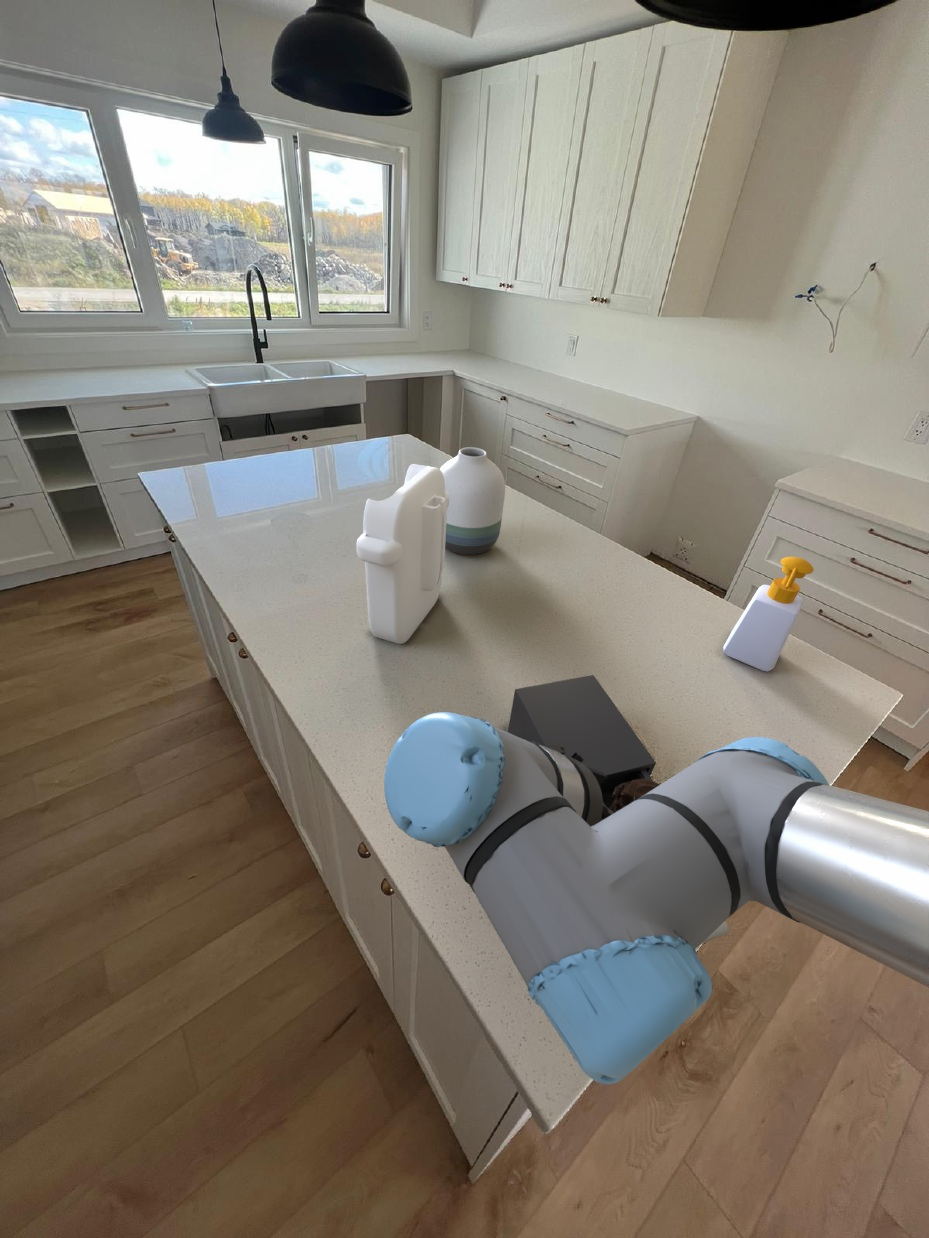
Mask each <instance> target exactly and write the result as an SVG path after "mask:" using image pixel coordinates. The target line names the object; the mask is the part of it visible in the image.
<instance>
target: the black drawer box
mask: <svg viewBox="0 0 929 1238" xmlns="http://www.w3.org/2000/svg"><path fill="white" fill-rule="evenodd" d="M512 699H513V700H512V705H511V710H510V716H509V721H508V727H507V732H508V733H510V734H512V735H515V736H517V737H519V738H522V739H525V740H526V741H529V742H532V741H534V742H537V743H538V744H541V745H555V744H558V745H561V746H562V747H563V748H564V750H565V751H566V753H565V754H564V755H566V756H568V757H571V756H572V755H573V754H574V753H575V752H577V753H578V754H580V755H581V756H582V757H583V759H584V760H583V761H582V764H584V765H585V766H587V767H590V768H592V769H595V770H597V771H600V772H602V773H604V774H605V775H606V776H607V778H610V777H614V776H618V775H622V774H626V773H630V772H634V771H638V770H642V769H646V771H647V772H648V774H649V775H650V777H651V776H652V774H653V772H654V770H655V767H656V765H657V762H656V760H655V759H654V758H653V756H652V755H651V753H650V752H649V750H648V749H647V748H646V746H645V745H644V743H643V741H641V739H640V737H639V736H638V735H637V734H636V732H635V731H634V729H633V728H632V727H631V725H630V724H629V723H628V721H627V719H626V718H625V717H624V715H623V714H622V712H621V710H619V708H618V707H617V706H616V704H615V703H614V701H613V700H612V699H611V697H610V696H609V694H608V693H607V691H606V690H605V689H604V687H603V686H602V684H601V683H600V682H599V680H598V679H597V678H596V676H595V675H594V674H589V675H583V676H580V677H574V678H567V679H563V680H556V681H552V682H547V683H541V684H537V685H530V686H526V687H520V688H515V689H514V694H513V698H512Z"/></svg>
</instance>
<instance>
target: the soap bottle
mask: <svg viewBox="0 0 929 1238" xmlns="http://www.w3.org/2000/svg"><path fill="white" fill-rule="evenodd" d="M780 564H781V565H782V568H781V572H783V574H785V576H784V577H775V578H774V579H773V580H772V582H771V584H762V585H761V586H759V587H758V589H757V590H756V591H755V593H754V595H753V597H752V598H751V600H750V601H749V603H748V604H747V606H746V608H745V609H744V611H743V613H742V614H741V616H740V617H739V619H738V620H737V622H736V623H735V625H734V627H733V629H731V632H730V634H729V636H728V638H727V639H726V641H725V643H724V645H723V647H722V649H723V653H724V654H725V655H726V656H728V657H729V658H732V659H734V660H736V661H739V662H741V663H743V664H746V665H749V666H751V667H753V668H754V669H755V668H756V669H758V670H760V671H763V672H770V671H771V670H773V669H774V668H775V666H776V664H777V662H778V659H779V658H780V655H781V654H782V651H783V649H784V647H785V644H786V642H787V640H788V638H789V636H790V634H791V631H792V629H793V627H794V624H795V623H796V621H797V619H798V616H799V614H800V611H801V608H802V606H803V598H802V597H801V596H799V595H798V594H799V592H800V590H801V586H800V585H799V584H798V583H797V582H795V581H796V579H799V580H800V579H804V578H805V577H806V575H809V574H812V573H813V572H814V570H815V569H814V567H813V565H812V564H811V563H810V562H809V561H808V560H806V559H804V558H801V557H798V556H786V557H783V558H781V559H780Z"/></svg>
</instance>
